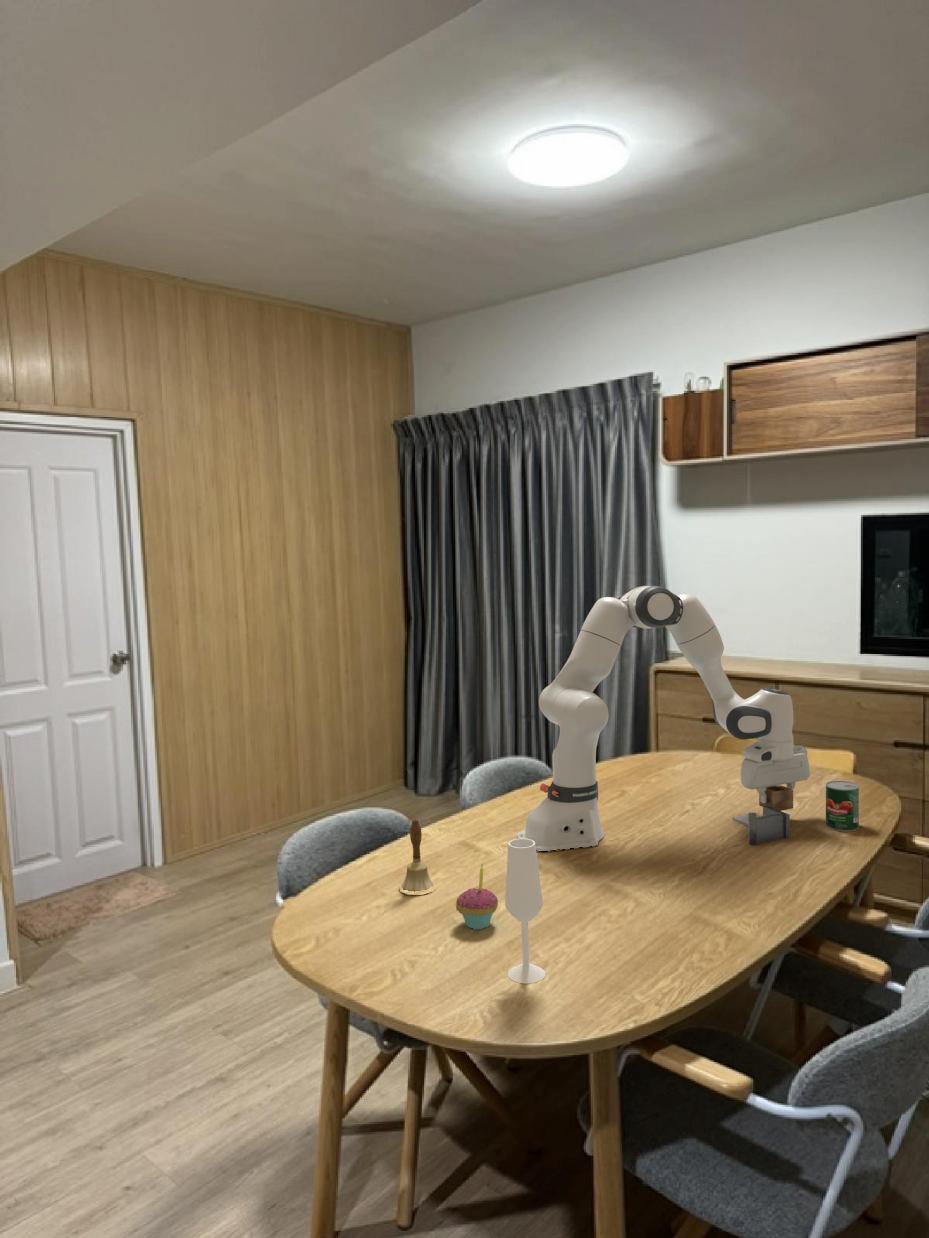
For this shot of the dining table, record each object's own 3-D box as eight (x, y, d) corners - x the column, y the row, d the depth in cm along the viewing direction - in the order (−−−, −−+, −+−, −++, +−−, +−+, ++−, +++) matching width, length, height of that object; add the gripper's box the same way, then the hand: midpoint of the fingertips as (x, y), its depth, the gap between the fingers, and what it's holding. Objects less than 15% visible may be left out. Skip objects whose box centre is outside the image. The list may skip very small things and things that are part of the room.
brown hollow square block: (775, 811, 222) (775, 793, 222) (759, 805, 228) (759, 787, 228) (793, 808, 225) (793, 789, 224) (777, 802, 230) (777, 784, 230)
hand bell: (443, 884, 193) (440, 816, 192) (423, 898, 186) (419, 827, 185) (412, 878, 198) (409, 811, 196) (392, 892, 190) (388, 822, 189)
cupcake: (475, 911, 179) (472, 856, 177) (507, 922, 173) (505, 864, 172) (448, 927, 172) (445, 869, 171) (481, 938, 167) (479, 878, 165)
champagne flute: (524, 987, 148) (519, 852, 145) (500, 972, 153) (494, 842, 151) (553, 974, 151) (548, 843, 149) (528, 960, 157) (524, 833, 155)
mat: (750, 827, 222) (750, 825, 222) (732, 819, 229) (732, 817, 229) (771, 823, 225) (771, 820, 225) (753, 815, 231) (753, 813, 231)
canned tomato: (827, 830, 218) (827, 788, 217) (824, 820, 225) (823, 779, 224) (861, 832, 215) (861, 790, 214) (856, 822, 223) (856, 781, 222)
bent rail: (753, 845, 209) (752, 815, 209) (730, 835, 217) (730, 806, 216) (789, 837, 214) (789, 808, 213) (766, 828, 221) (766, 799, 220)
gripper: (797, 742, 232) (798, 791, 233) (736, 751, 224) (737, 802, 225) (815, 746, 226) (815, 797, 227) (753, 756, 218) (753, 809, 220)
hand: (775, 800), depth 226 cm, fingers closed on brown hollow square block, 6 cm apart
